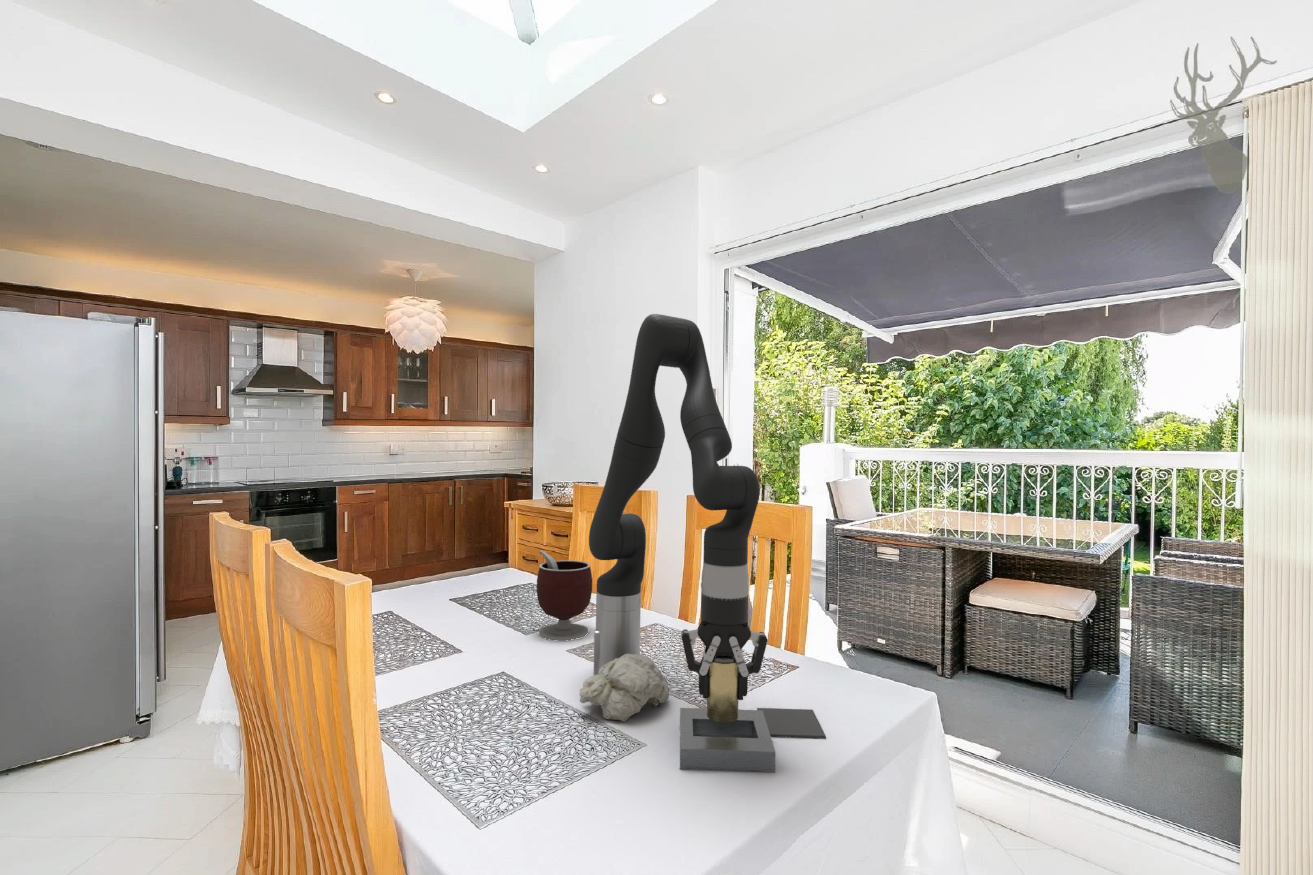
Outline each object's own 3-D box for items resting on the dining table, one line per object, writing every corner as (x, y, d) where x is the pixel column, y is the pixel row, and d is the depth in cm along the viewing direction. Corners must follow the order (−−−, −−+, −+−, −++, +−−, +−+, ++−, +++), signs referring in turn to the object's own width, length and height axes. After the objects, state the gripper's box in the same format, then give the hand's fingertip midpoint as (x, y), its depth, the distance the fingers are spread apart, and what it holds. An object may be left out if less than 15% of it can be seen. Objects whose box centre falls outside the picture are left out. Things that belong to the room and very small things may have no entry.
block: (679, 768, 90) (680, 748, 90) (679, 725, 104) (680, 707, 104) (775, 772, 89) (775, 751, 89) (762, 727, 103) (762, 710, 103)
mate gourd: (602, 630, 156) (603, 552, 156) (566, 645, 144) (568, 561, 144) (556, 620, 164) (558, 546, 164) (519, 633, 152) (520, 553, 153)
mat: (764, 736, 100) (764, 733, 100) (757, 709, 110) (757, 707, 110) (825, 738, 100) (825, 735, 100) (812, 711, 110) (812, 709, 110)
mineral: (569, 686, 114) (573, 648, 110) (654, 669, 121) (662, 632, 116) (585, 744, 104) (591, 705, 100) (677, 723, 111) (687, 685, 106)
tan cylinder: (707, 721, 95) (708, 660, 95) (705, 707, 100) (707, 649, 100) (739, 723, 94) (740, 661, 94) (736, 708, 99) (737, 650, 99)
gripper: (679, 595, 94) (677, 705, 94) (773, 597, 93) (771, 709, 93) (679, 583, 101) (677, 686, 101) (766, 586, 101) (764, 689, 101)
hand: (722, 696), depth 97 cm, fingers closed on tan cylinder, 5 cm apart
